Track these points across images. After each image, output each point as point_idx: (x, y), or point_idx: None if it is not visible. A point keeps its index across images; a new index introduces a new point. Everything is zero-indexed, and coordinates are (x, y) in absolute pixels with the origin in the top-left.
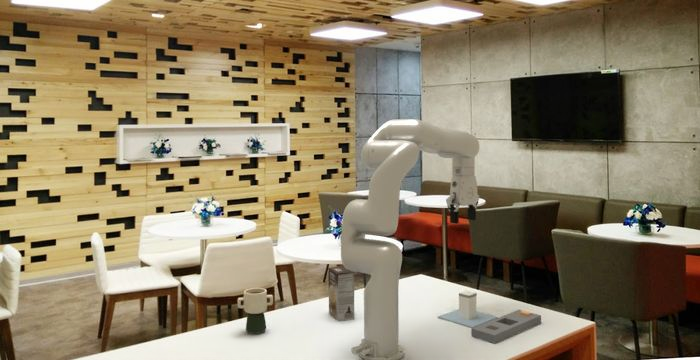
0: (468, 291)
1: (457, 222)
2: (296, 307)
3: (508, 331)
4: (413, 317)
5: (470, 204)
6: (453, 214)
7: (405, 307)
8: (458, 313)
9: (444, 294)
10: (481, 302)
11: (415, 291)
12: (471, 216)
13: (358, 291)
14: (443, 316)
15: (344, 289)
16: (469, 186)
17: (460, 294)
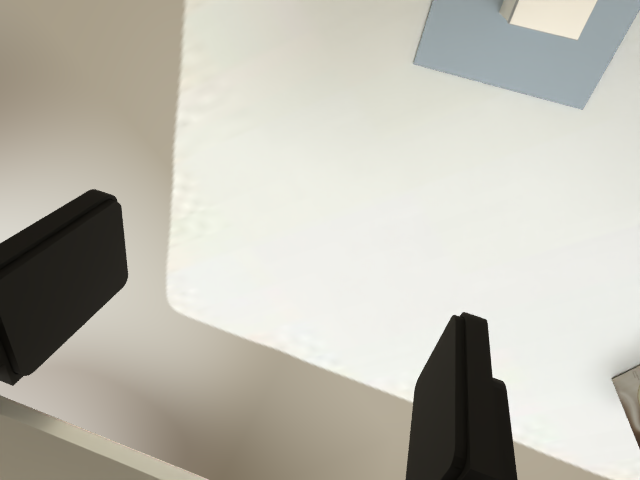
0: (525, 3)
1: (485, 325)
2: (619, 473)
3: None
4: (609, 188)
5: (74, 434)
6: (508, 475)
7: (496, 248)
8: (504, 47)
9: (288, 189)
10: (296, 29)
11: (313, 274)
12: (94, 259)
13: (402, 393)
14: (573, 87)
15: None
16: None
17: (582, 27)
